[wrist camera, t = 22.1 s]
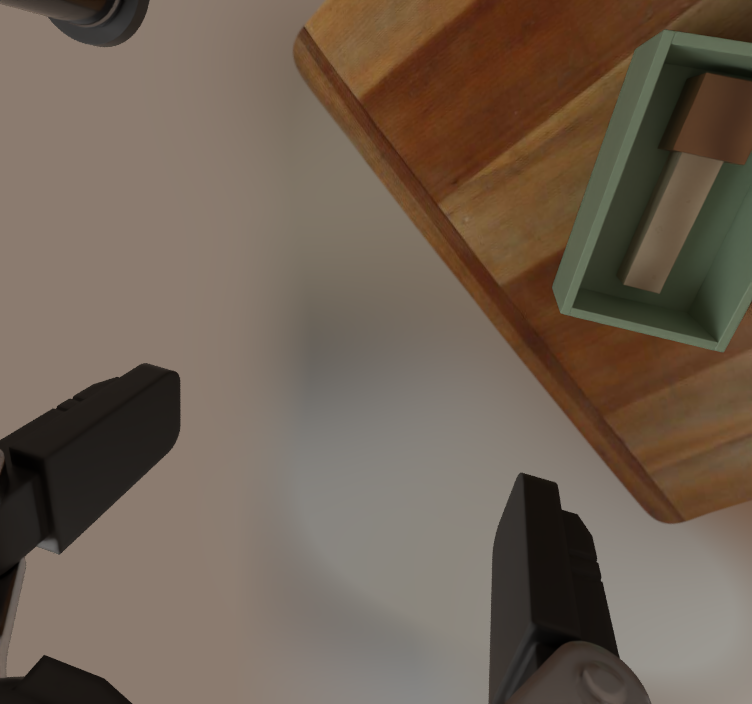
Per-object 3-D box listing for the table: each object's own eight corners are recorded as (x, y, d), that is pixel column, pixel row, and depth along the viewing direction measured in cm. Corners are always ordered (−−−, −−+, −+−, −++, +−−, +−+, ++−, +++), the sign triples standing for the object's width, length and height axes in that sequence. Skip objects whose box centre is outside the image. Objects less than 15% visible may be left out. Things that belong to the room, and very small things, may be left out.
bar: (604, 273, 43) (613, 284, 40) (686, 78, 37) (706, 71, 33) (661, 287, 43) (675, 301, 39) (756, 92, 36) (784, 87, 32)
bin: (551, 287, 46) (560, 313, 39) (635, 48, 37) (664, 29, 30) (689, 319, 44) (723, 352, 37) (810, 77, 35) (882, 63, 29)
